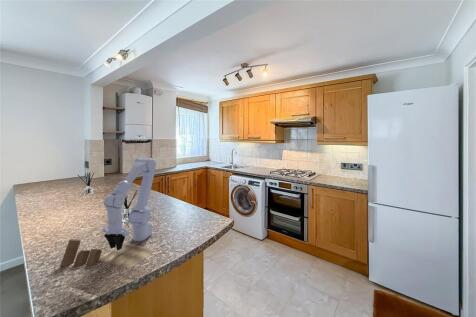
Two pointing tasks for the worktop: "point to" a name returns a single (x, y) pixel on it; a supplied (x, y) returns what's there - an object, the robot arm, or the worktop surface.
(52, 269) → the worktop surface
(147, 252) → the floor panel
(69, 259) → the wooden block set
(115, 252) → the oak plank
